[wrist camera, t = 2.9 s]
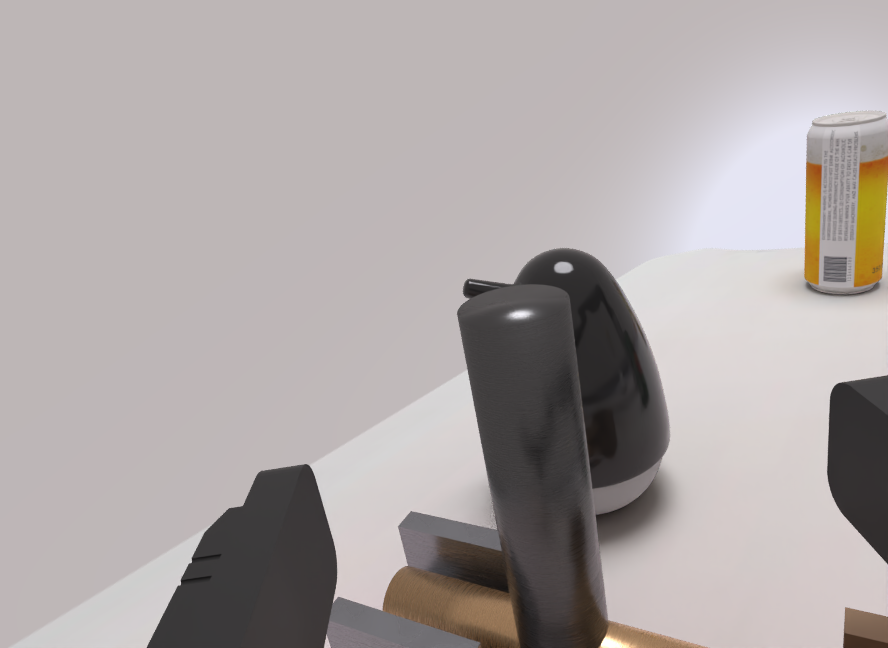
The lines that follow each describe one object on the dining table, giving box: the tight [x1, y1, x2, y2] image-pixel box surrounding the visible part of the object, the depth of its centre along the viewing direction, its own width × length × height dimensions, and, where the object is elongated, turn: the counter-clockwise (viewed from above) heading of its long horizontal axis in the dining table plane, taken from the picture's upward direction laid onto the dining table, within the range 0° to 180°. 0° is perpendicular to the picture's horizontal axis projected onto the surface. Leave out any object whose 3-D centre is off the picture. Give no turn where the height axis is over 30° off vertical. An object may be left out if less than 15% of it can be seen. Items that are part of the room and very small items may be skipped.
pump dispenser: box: [463, 248, 670, 515], centre depth 38 cm, size 10×10×15 cm
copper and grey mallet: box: [383, 284, 708, 648], centre depth 25 cm, size 4×16×17 cm, turn 60°
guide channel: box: [327, 511, 509, 648], centre depth 30 cm, size 7×7×5 cm
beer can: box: [804, 111, 888, 294], centre depth 59 cm, size 6×6×15 cm
